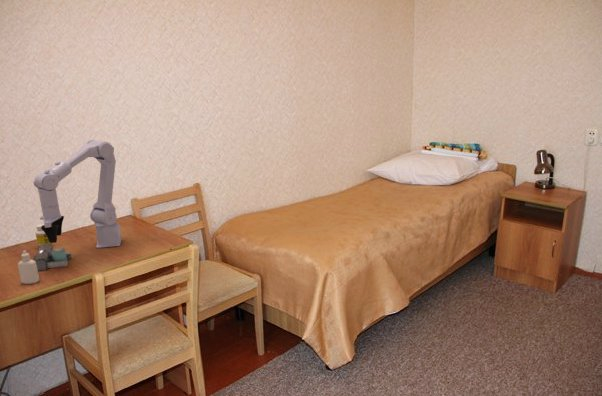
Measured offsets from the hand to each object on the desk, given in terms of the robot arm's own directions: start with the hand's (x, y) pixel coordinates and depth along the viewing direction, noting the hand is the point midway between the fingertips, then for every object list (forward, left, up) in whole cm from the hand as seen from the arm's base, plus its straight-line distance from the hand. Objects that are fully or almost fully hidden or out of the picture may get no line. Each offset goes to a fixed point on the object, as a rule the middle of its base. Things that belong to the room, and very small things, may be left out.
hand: (55, 238), depth 179 cm
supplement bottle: (+10, -19, -10) cm, 23 cm away
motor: (+2, 0, -10) cm, 10 cm away
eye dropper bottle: (+7, +15, -10) cm, 19 cm away
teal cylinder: (0, 0, -10) cm, 10 cm away
